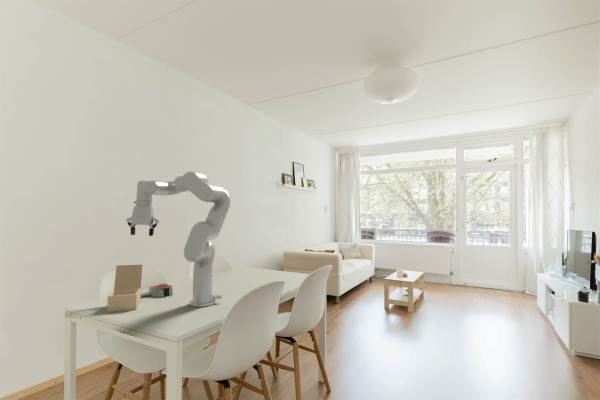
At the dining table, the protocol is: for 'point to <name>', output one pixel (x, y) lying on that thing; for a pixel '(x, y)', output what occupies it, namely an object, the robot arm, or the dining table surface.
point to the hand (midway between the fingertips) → (141, 235)
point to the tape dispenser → (158, 291)
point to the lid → (128, 277)
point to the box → (123, 300)
